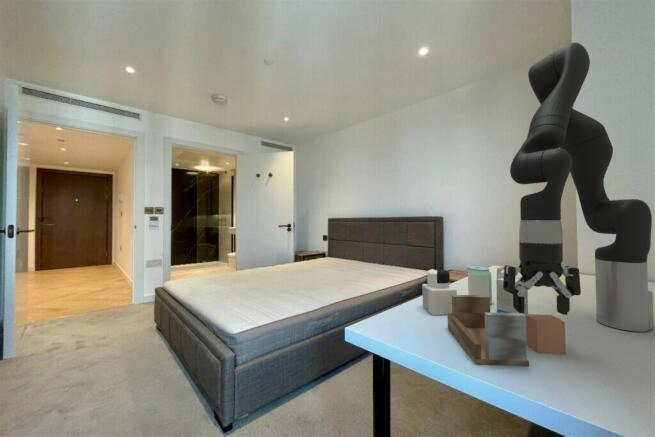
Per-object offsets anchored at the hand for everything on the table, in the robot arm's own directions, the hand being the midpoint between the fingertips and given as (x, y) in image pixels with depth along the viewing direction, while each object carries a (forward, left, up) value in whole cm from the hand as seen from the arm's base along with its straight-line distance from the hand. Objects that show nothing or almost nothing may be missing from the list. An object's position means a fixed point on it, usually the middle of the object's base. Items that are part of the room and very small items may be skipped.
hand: (540, 312), depth 58 cm
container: (+15, -23, -8) cm, 29 cm away
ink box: (-4, -18, -8) cm, 20 cm away
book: (-1, 0, -8) cm, 8 cm away
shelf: (+11, -1, -8) cm, 14 cm away
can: (-1, -32, -8) cm, 33 cm away
